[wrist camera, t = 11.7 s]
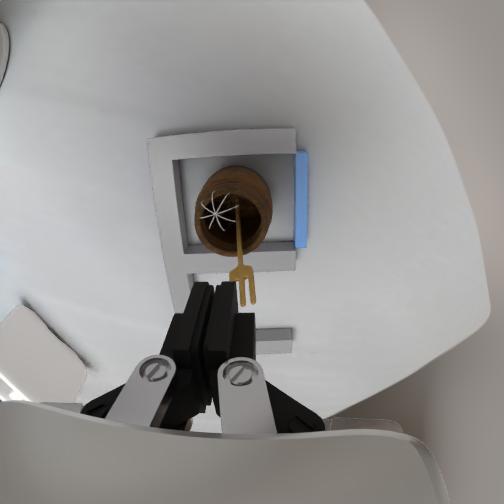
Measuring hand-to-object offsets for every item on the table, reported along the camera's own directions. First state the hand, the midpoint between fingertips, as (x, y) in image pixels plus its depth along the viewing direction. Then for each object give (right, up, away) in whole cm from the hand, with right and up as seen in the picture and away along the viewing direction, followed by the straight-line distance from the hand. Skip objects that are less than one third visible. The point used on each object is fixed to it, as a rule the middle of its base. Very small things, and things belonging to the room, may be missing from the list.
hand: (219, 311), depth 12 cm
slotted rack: (-1, +2, +17) cm, 17 cm away
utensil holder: (0, +7, +15) cm, 16 cm away
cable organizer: (-30, -12, +24) cm, 41 cm away
